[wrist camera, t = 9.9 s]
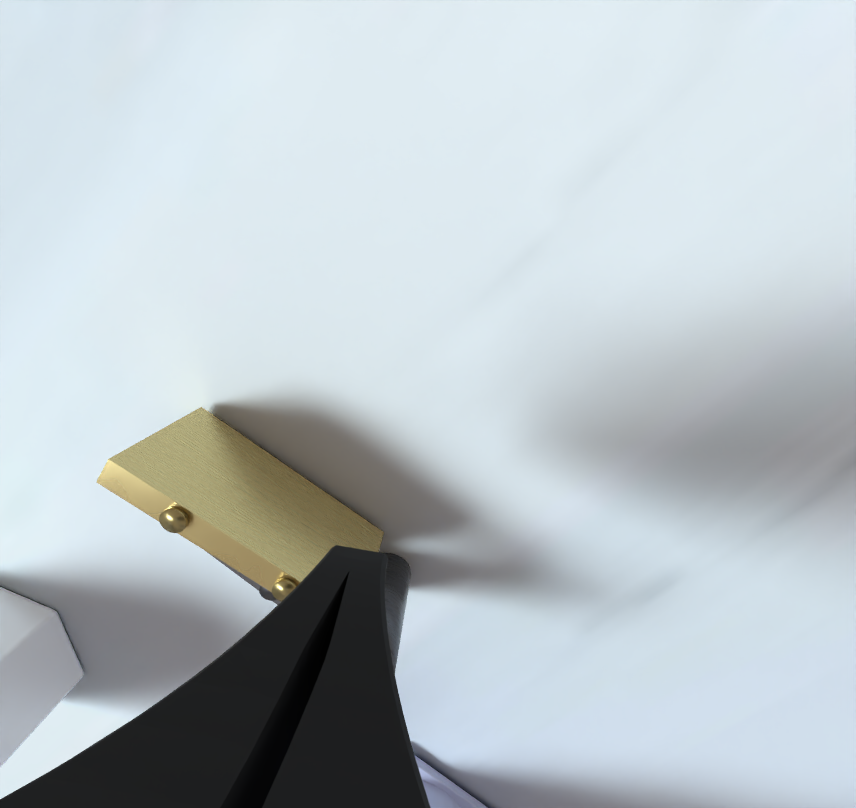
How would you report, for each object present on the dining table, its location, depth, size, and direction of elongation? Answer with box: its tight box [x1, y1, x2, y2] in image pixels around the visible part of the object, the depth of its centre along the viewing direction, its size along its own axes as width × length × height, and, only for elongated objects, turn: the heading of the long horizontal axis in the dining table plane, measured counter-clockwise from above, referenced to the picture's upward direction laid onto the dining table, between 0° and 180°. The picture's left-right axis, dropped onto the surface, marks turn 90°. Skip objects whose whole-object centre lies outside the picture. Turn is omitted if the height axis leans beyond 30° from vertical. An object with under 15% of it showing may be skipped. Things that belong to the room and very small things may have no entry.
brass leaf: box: [97, 407, 384, 602], centre depth 15 cm, size 9×1×5 cm, turn 52°
